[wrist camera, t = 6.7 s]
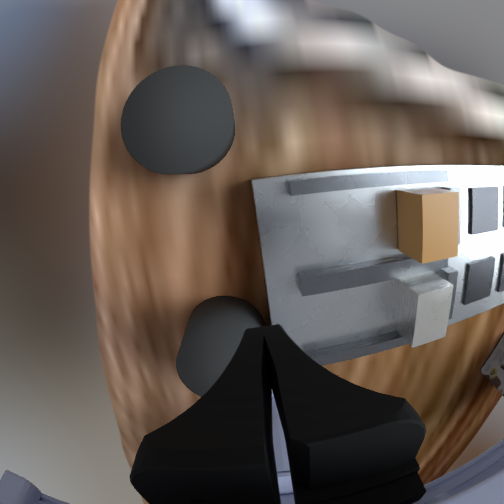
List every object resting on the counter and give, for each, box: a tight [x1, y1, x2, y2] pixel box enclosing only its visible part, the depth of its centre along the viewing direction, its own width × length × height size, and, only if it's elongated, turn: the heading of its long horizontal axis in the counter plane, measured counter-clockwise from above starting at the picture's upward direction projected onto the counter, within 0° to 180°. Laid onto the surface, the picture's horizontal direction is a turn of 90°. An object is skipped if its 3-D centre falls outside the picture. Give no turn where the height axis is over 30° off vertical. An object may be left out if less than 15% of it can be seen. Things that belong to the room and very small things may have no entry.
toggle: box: [396, 187, 459, 264], centre depth 16 cm, size 3×4×3 cm
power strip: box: [250, 164, 504, 366], centre depth 18 cm, size 26×13×6 cm, turn 98°
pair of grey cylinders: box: [121, 66, 264, 397], centre depth 18 cm, size 6×21×5 cm, turn 8°
